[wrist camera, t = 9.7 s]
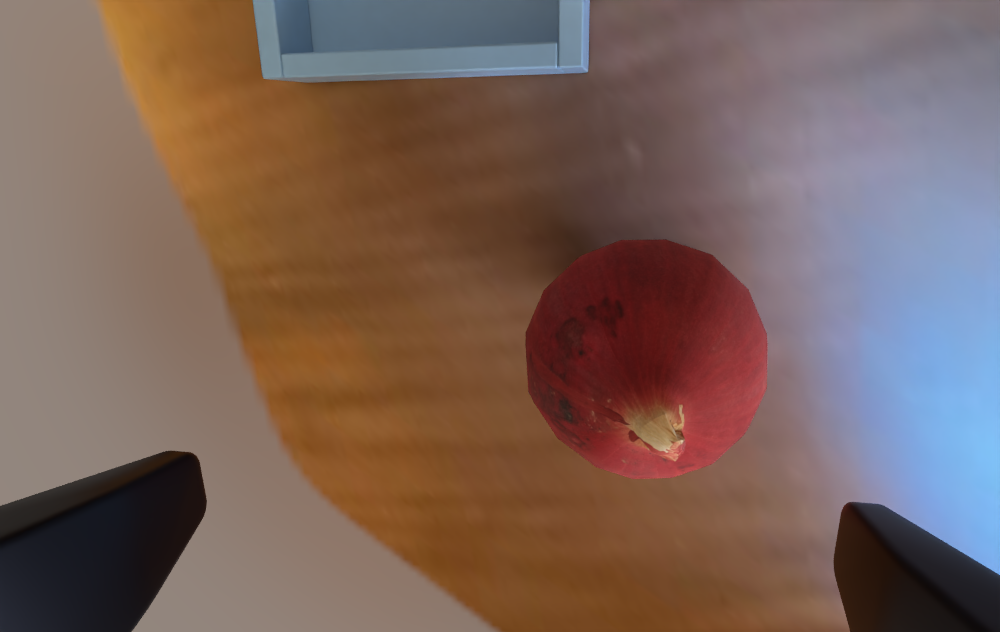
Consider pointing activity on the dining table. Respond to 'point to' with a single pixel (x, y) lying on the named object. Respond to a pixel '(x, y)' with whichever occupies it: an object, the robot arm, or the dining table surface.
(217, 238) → the dining table surface
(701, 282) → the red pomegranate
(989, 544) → the dining table surface
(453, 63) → the divided blue tray
